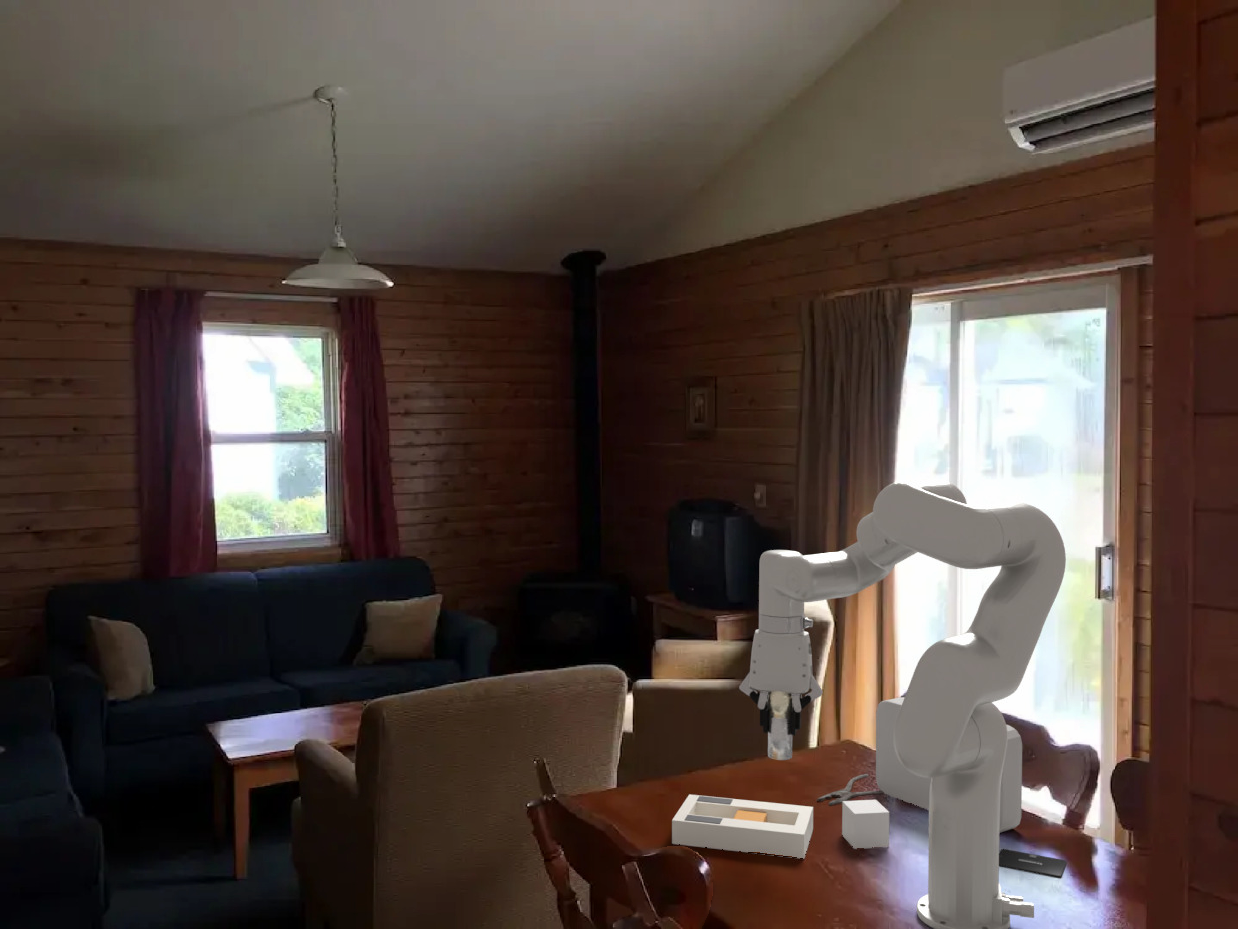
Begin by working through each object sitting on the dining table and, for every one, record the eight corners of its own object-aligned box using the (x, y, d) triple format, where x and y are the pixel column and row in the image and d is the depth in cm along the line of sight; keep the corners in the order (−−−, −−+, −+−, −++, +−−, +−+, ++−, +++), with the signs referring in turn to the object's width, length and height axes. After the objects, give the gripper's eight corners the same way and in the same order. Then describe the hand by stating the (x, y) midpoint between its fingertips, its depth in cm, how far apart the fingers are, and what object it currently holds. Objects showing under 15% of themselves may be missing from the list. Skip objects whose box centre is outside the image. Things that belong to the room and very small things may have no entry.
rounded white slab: (1030, 829, 183) (1031, 726, 182) (1002, 839, 178) (1003, 733, 178) (902, 783, 207) (903, 692, 206) (875, 790, 202) (875, 698, 202)
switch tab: (766, 826, 181) (766, 813, 181) (761, 838, 176) (761, 824, 176) (737, 823, 182) (737, 810, 182) (732, 835, 177) (732, 821, 177)
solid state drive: (1001, 852, 174) (1001, 848, 174) (1066, 864, 169) (1066, 860, 169) (993, 867, 168) (993, 863, 168) (1061, 880, 163) (1061, 876, 163)
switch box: (813, 829, 182) (813, 806, 182) (804, 859, 170) (804, 834, 170) (689, 816, 189) (689, 794, 188) (672, 843, 176) (672, 819, 176)
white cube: (854, 849, 174) (854, 814, 174) (842, 836, 180) (842, 801, 180) (889, 847, 175) (889, 812, 175) (875, 834, 181) (875, 799, 181)
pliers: (907, 782, 206) (863, 811, 190) (907, 786, 206) (863, 816, 190) (861, 772, 212) (815, 799, 196) (861, 776, 212) (815, 803, 196)
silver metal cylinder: (793, 753, 178) (794, 683, 178) (790, 761, 175) (791, 689, 174) (769, 751, 180) (770, 682, 179) (766, 758, 176) (767, 687, 175)
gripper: (834, 623, 177) (832, 730, 178) (736, 617, 182) (735, 722, 183) (829, 631, 170) (828, 743, 171) (727, 625, 175) (727, 734, 176)
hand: (780, 731), depth 177 cm, fingers closed on silver metal cylinder, 4 cm apart
